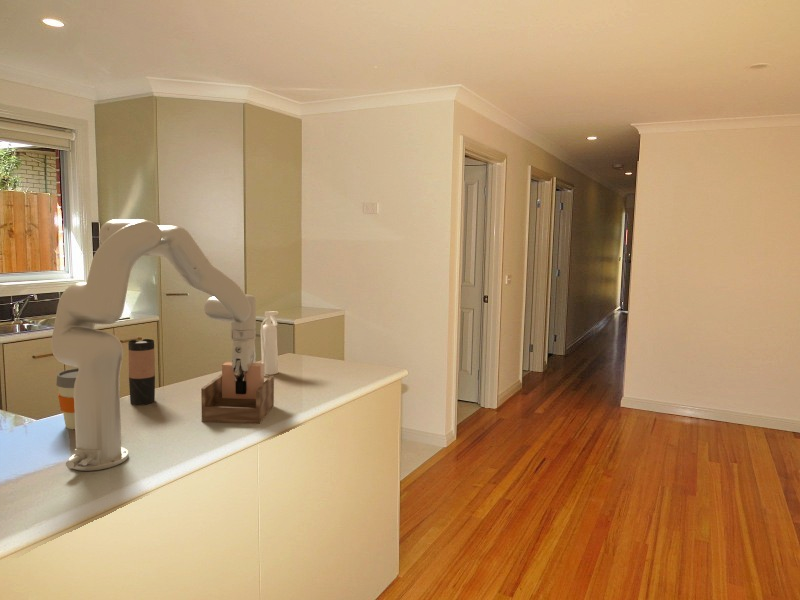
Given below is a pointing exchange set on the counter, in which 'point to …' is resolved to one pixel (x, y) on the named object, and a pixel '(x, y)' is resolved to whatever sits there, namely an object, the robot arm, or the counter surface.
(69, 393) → the reusable coffee cup
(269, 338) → the white spray bottle
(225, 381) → the peach rectangular block
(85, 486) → the counter surface
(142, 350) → the travel mug
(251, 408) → the wooden crate
